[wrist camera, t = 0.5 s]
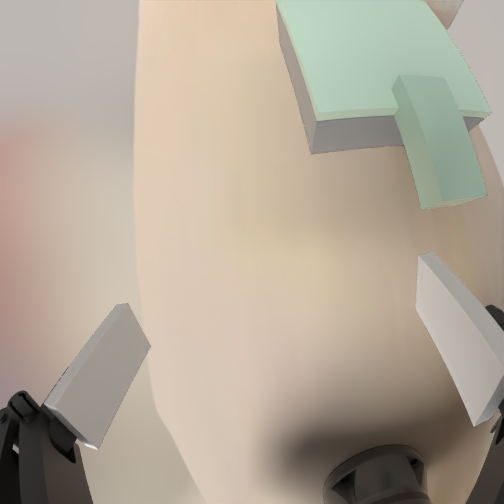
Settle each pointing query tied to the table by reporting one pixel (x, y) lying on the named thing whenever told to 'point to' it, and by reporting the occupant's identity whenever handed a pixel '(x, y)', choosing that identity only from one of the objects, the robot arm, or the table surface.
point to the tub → (340, 130)
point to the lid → (394, 84)
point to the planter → (445, 10)
